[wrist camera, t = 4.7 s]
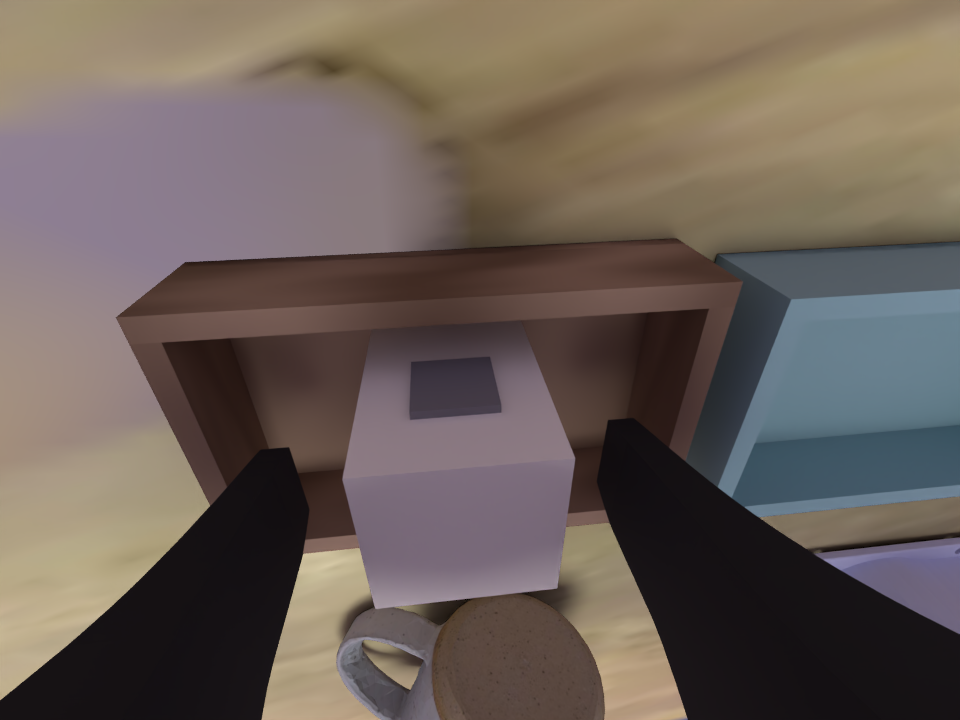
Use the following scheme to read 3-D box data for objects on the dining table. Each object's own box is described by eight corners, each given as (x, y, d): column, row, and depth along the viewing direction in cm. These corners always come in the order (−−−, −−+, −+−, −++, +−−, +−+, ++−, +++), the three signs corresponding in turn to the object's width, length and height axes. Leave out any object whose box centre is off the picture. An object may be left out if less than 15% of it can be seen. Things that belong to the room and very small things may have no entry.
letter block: (518, 309, 12) (576, 450, 8) (514, 426, 15) (557, 588, 10) (371, 318, 12) (340, 470, 7) (390, 436, 14) (375, 609, 10)
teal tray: (1115, 233, 14) (1272, 270, 11) (970, 427, 18) (1060, 485, 15) (717, 254, 13) (791, 299, 10) (661, 455, 17) (703, 522, 14)
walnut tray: (676, 238, 12) (742, 281, 10) (629, 448, 16) (667, 516, 14) (185, 262, 11) (115, 317, 9) (268, 479, 15) (237, 560, 13)
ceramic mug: (586, 581, 21) (655, 810, 14) (535, 668, 25) (572, 877, 18) (349, 569, 19) (306, 829, 12) (337, 666, 23) (300, 900, 16)
